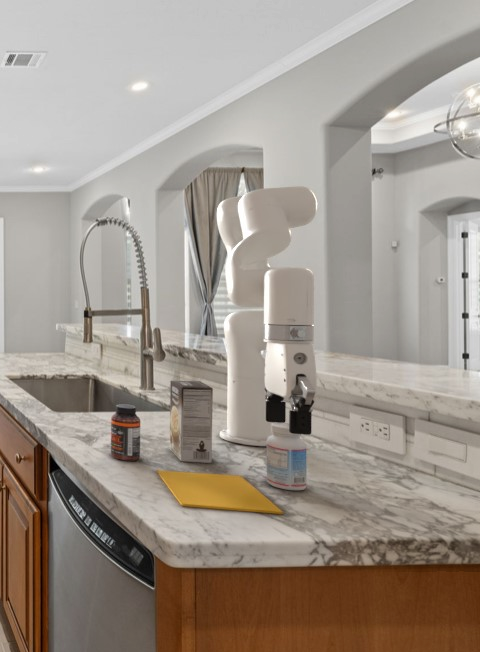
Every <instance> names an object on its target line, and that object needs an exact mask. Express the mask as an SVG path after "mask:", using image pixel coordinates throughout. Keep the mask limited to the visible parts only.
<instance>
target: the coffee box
mask: <svg viewBox="0 0 480 652" xmlns="http://www.w3.org/2000/svg"><path fill="white" fill-rule="evenodd" d="M169 386H170V388H169V389H170V391H169V392H170V394H169V395H170V396H169V400H170V401H169V450H170V451H171V452H172V453H173V454H174V456H175V457H177V459H178V460H179V461H180V462H185V463H205V464H207V463H208V464H212V461H213V460H212V458H213V457H212V456H213V455H212V454H213V408H214V407H213V405H214V404H213V403H214V402H213V401H214V399H213V397H214V393H213V392H214V388H213V387H211V386H210V385H207V384H205V382H202V381H200V380H170V385H169Z"/></svg>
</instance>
